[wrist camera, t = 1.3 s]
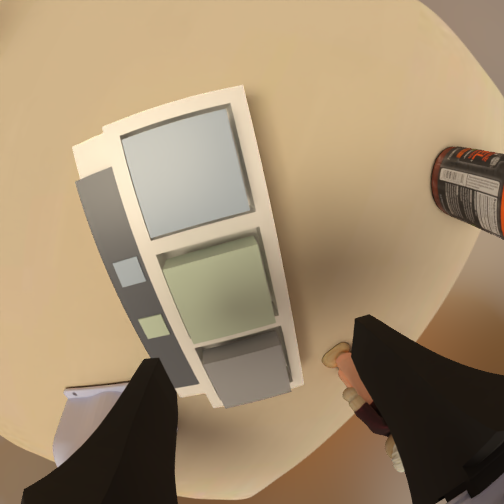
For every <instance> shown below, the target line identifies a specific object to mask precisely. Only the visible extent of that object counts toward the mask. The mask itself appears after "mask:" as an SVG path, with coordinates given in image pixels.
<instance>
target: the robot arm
mask: <svg viewBox="0 0 504 504" xmlns="http://www.w3.org/2000/svg"><path fill="white" fill-rule="evenodd" d="M351 358H352V360H353V363H354V365H355V368H356V370H357V372H358V375H359V377H360V379H361V381H362V383H363V384H364V386H365V388H366V389H367V391H368V393H369V395H370V396H371V398H372V400H373V401H374V403H375V405H376V406H377V408H378V410H379V411H380V413H381V415H382V417H383V418H384V420H385V422H386V424H387V426H388V428H389V430H390V433H391V435H392V437H393V440H394V442H395V445H396V447H397V450H398V453H399V456H400V458H401V461H402V464H403V467H404V471H405V474H406V477H407V480H408V485H409V489H410V493H411V497H412V503H413V504H436V503H437V502H439V501H440V500H442V499H444V498H445V499H446V501H447V503H446V504H504V375H499V374H493V373H489V372H485V371H481V370H478V369H474V368H471V367H468V366H465V365H462V364H460V363H457V362H455V361H452V360H450V359H448V358H445V357H443V356H441V355H439V354H437V353H435V352H432V351H431V350H429V349H427V348H425V347H423V346H421V345H419V344H418V343H416V342H414V341H412V340H411V339H409V338H407V337H406V336H404V335H402V334H401V333H399V332H397V331H396V330H394V329H392V328H391V327H389V326H388V325H386V324H384V323H383V322H381V321H380V320H378V319H376V318H375V317H373V316H371V315H365V316H362V317H359V318H355V324H354V334H353V344H352V353H351ZM64 395H65V396H66V397H67V398H68V400H67V402H66V405H65V408H64V411H63V413H62V416H61V419H60V422H59V425H58V428H57V431H56V434H55V437H54V441H53V455H54V460H55V463H56V465H57V468H56V469H55V470H54V471H52V472H51V473H50V474H48V475H47V476H45V477H44V478H42V479H41V480H39V481H37V482H36V483H34V484H32V485H31V486H29V487H27V488H26V489H24V492H23V496H22V501H21V504H178V502H177V494H176V484H175V451H176V436H177V431H178V427H177V422H178V405H177V392H176V390H175V388H174V386H173V384H172V382H171V380H170V378H169V376H168V374H167V372H166V370H165V368H164V366H163V364H162V362H161V360H160V358H150V359H144V360H143V361H142V363H141V364H140V366H139V367H138V369H137V370H136V372H135V374H134V375H133V377H132V378H131V380H130V381H129V382H128V383H121V384H113V385H104V386H94V387H83V388H69V389H65V390H64Z"/></svg>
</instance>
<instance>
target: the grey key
mask: <svg viewBox="0 0 504 504" xmlns="http://www.w3.org/2000/svg"><path fill="white" fill-rule="evenodd" d="M203 365H204V367H205V369H206V371H207V374H208V376H209V378H210V380H211V382H212V384H213V385H214V387H215V389H216V391H217V393H218V395H219V397H220V399H221V401H222V403H223V405H224V407H225V408H230V407H235V406H239V405H244V404H248V403H252V402H256V401H260V400H263V399H267V398H271V397H274V396H278V395H281V394H285V393H288V392H291V388H290V383H289V378H288V374H287V369H286V365H285V361H284V356H283V352H282V347H281V343H280V341H279V338H278V336H277V333H276V331H273V332H270V333H266V334H263V335H259V336H256V337H252V338H248V339H245V340H241V341H237V342H233V343H229V344H225V345H221V346H217V347H213V348H209V349H205V350H203Z"/></svg>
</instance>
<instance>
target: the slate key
mask: <svg viewBox="0 0 504 504" xmlns="http://www.w3.org/2000/svg"><path fill="white" fill-rule="evenodd" d="M122 143H123V147H124V151H125V155H126V159H127V162H128V166H129V170H130V173H131V177H132V180H133V184H134V187H135V191H136V194H137V197H138V200H139V204H140V207H141V210H142V213H143V216H144V219H145V222H146V225H147V228H148V231H149V234H150V237H151V238H153V237H157V236H160V235H163V234H167V233H170V232H174V231H177V230H181V229H184V228H188V227H191V226H195V225H198V224H202V223H205V222H209V221H213V220H216V219H220V218H224V217H227V216H231V215H235V214H239V213H242V212H246V211H250V208H249V204H248V199H247V195H246V191H245V187H244V183H243V178H242V174H241V170H240V166H239V162H238V157H237V153H236V149H235V145H234V141H233V137H232V132H231V128H230V124H229V120H228V116H227V112H226V109H222V110H218V111H214V112H210V113H206V114H202V115H198V116H194V117H190V118H187V119H183V120H180V121H176V122H173V123H170V124H166V125H163V126H160V127H157V128H154V129H151V130H148V131H145V132H142V133H139V134H136V135H134V136H131V137H128V138H125V139H123V140H122Z"/></svg>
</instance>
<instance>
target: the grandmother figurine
mask: <svg viewBox="0 0 504 504" xmlns="http://www.w3.org/2000/svg"><path fill="white" fill-rule="evenodd" d="M349 351H350V346H349V345H348V344H347V343H345V342H343V343H340V344H338V345H337V346H335V347H334V348H333V349H332V350H330V351H329V352H328V353H326V354H325V356H324V357H323V359H322V362H323V364H324V365H325V366H327V367H329V368H335V367H337V366H338V368H339V372H338V375H339V377H340V378H341V380H342V381H343V382H344V383H345V385H346V386H347V387H348V388H346V389H345V390H344V392H343V398H344V399H345V400H346V401H348V402H349V405H350V407H351V408H352V409H353V411H354V412H355V414H356V416H357V417H358V418H360V419H361V420H362V421H363V422H364V423H365V424H366V425H367V426H368V427H369V429H370V430H371V431H372V432H373V433H375V434H379V435H384V436H387V437H388V439H387V441H386V444H385V450H386V452H387V455H388V456H389V457H390V458H392V461H393V467H394V468H395V469H396V470H397V471H398V472H405V471H404V467H403V464H402V461H401V458H400V456H399V453H398V450H397V447H396V445H395V442H394V440H393V437H392V435H391V433H390V430H389V428H388V426H387V424H386V422H385V420H384V418H383V417H382V415H381V413H380V411H379V410H378V408H377V406H376V405H375V403H374V401H373V400H372V398H371V396H370V395H369V393H368V391H367V389H366V388H365V386H364V384H363V383H362V381H361V379H360V377H359V375H358V372H357V370H356V368H355V365H354V363H353V360H352V358H351V353H352V352H351V353H349Z"/></svg>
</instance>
